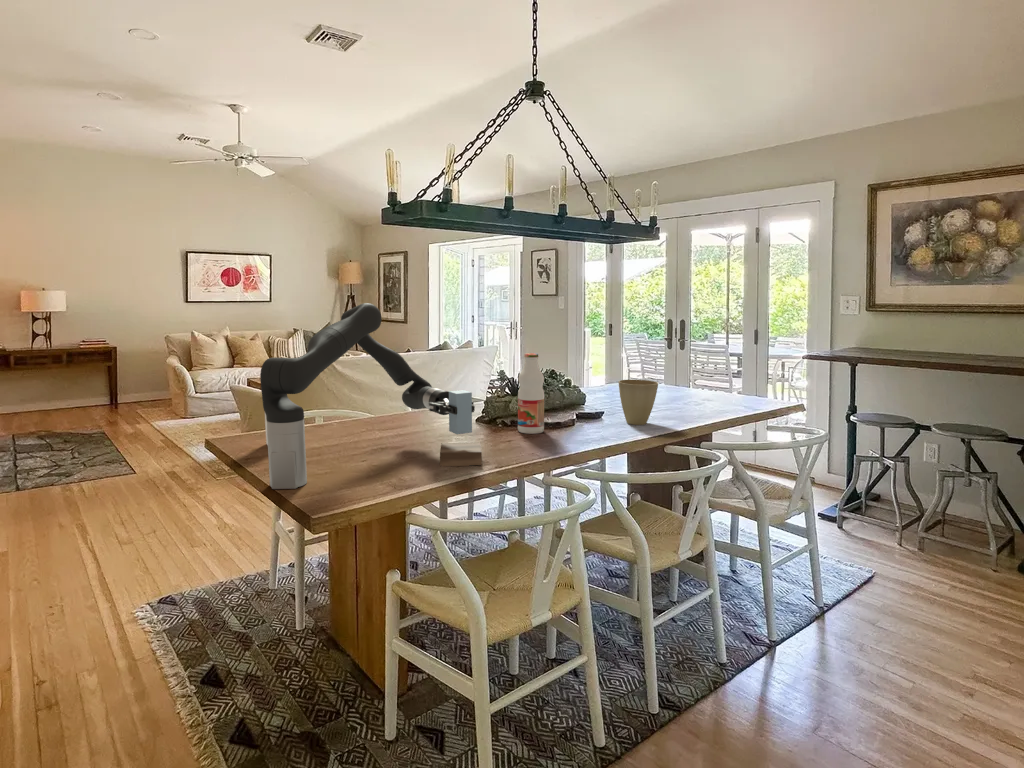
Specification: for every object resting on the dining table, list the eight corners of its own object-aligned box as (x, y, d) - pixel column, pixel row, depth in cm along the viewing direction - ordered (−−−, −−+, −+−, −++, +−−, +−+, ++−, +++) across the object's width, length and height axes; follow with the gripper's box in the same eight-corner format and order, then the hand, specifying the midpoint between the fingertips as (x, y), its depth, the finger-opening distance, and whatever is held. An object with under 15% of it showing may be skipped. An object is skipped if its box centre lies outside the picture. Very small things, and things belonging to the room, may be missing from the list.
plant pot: (641, 429, 242) (642, 386, 240) (609, 422, 253) (610, 381, 251) (664, 423, 252) (666, 382, 250) (633, 417, 263) (634, 378, 261)
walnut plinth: (481, 465, 192) (481, 452, 191) (440, 466, 191) (439, 452, 191) (480, 455, 204) (480, 442, 203) (441, 455, 203) (441, 443, 202)
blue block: (457, 434, 193) (456, 393, 191) (449, 431, 197) (448, 391, 195) (472, 432, 196) (471, 392, 194) (464, 429, 200) (463, 390, 198)
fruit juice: (548, 432, 236) (549, 354, 232) (525, 435, 232) (526, 355, 228) (535, 427, 244) (536, 352, 240) (513, 430, 240) (513, 353, 236)
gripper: (417, 391, 203) (442, 399, 189) (459, 387, 210) (486, 395, 196) (418, 415, 204) (442, 425, 190) (459, 410, 212) (486, 419, 197)
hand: (464, 409), depth 193 cm, fingers closed on blue block, 5 cm apart
